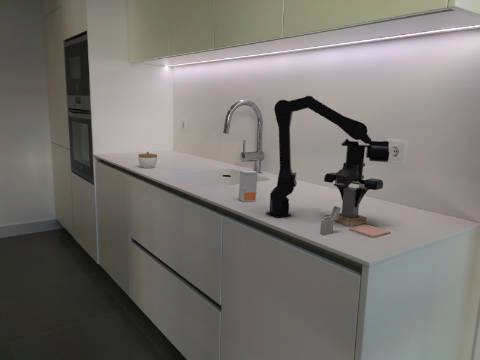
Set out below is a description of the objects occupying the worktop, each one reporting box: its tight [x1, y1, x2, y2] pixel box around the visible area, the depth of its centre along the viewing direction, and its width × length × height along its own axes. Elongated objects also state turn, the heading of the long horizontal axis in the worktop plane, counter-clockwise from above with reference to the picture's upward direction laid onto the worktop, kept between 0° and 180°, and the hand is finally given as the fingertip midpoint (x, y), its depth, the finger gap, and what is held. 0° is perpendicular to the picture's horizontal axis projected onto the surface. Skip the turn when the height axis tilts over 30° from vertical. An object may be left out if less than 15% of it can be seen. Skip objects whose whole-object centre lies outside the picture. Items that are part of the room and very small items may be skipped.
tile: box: [348, 223, 391, 239], centre depth 125 cm, size 9×9×1 cm
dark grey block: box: [341, 186, 360, 219], centre depth 135 cm, size 4×4×10 cm
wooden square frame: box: [334, 212, 368, 227], centre depth 136 cm, size 8×8×2 cm
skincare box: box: [238, 170, 258, 203], centre depth 160 cm, size 6×4×12 cm
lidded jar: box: [138, 151, 158, 169], centre depth 236 cm, size 11×11×9 cm
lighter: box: [319, 205, 342, 236], centre depth 122 cm, size 7×2×8 cm, turn 129°
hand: (350, 205), depth 136 cm, fingers closed on dark grey block, 4 cm apart
